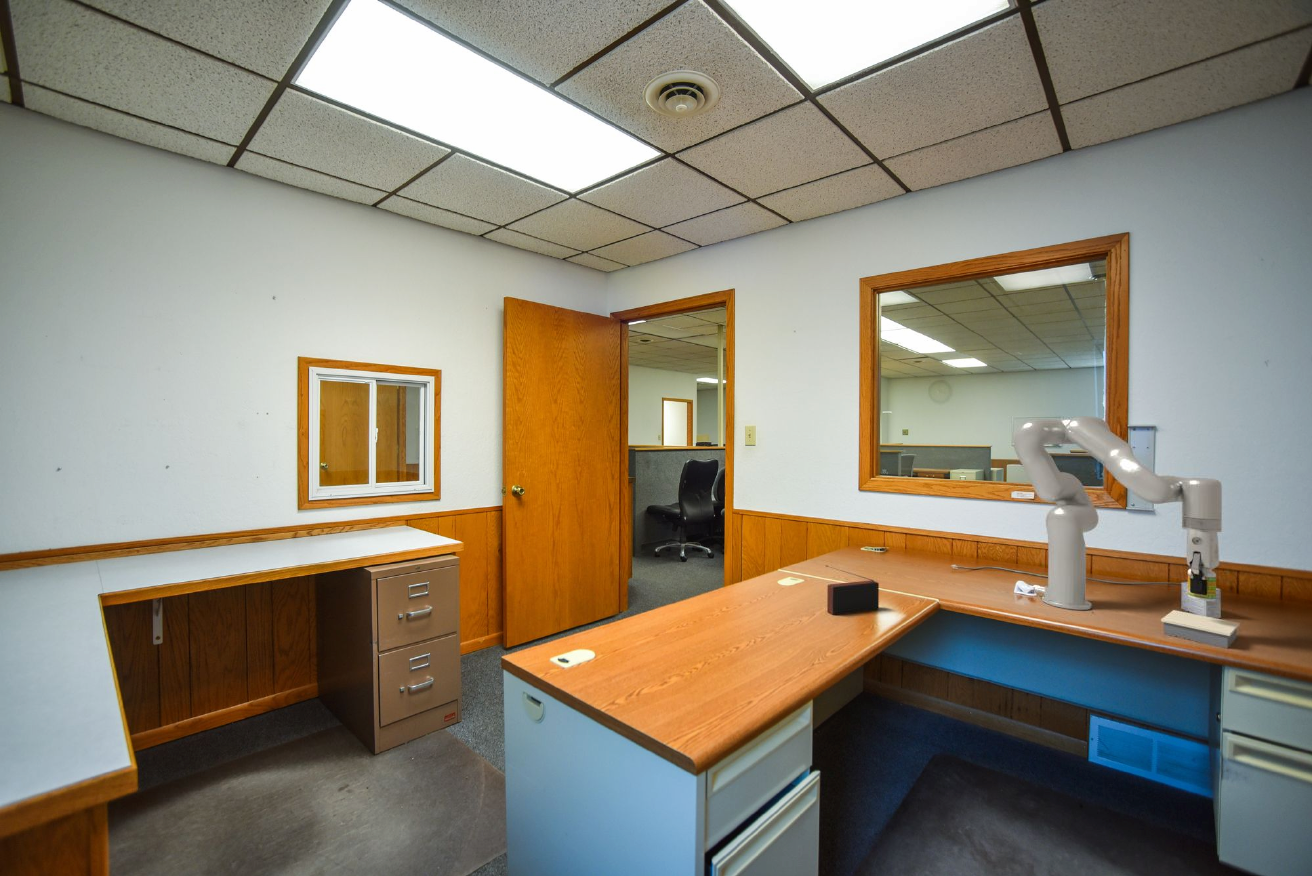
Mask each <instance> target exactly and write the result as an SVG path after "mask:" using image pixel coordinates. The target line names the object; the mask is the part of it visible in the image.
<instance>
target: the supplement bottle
mask: <svg viewBox="0 0 1312 876" xmlns="http://www.w3.org/2000/svg"><path fill="white" fill-rule="evenodd" d="M1191 563H1192V561H1191ZM1199 567H1203V568H1204V566H1202V565H1200V566H1199ZM1201 571H1202V572H1203V570H1201ZM1190 577H1191V568H1189V569H1188V570H1187V582H1188V597H1190V598H1193V599H1197V600H1203V601H1215V600H1216V588H1217V574H1216V572H1214V571H1213V570H1212V571H1211V570H1210V569H1209V568H1206V580H1207V595H1201V594H1195V593H1191V592H1190Z"/></svg>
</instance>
